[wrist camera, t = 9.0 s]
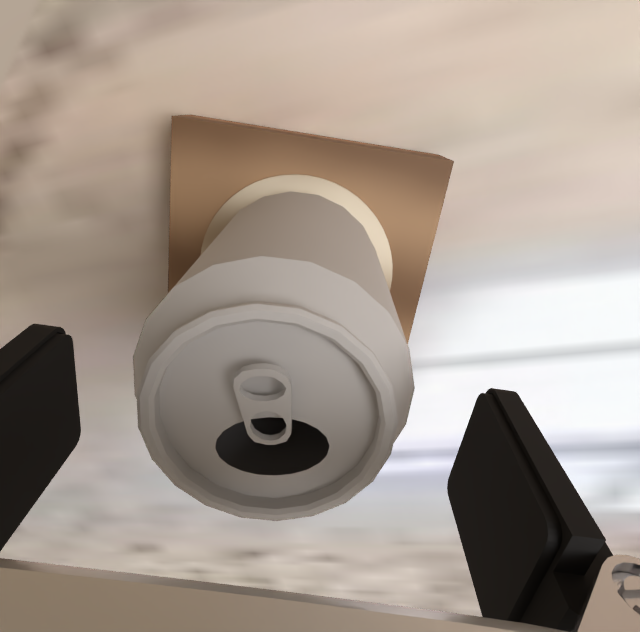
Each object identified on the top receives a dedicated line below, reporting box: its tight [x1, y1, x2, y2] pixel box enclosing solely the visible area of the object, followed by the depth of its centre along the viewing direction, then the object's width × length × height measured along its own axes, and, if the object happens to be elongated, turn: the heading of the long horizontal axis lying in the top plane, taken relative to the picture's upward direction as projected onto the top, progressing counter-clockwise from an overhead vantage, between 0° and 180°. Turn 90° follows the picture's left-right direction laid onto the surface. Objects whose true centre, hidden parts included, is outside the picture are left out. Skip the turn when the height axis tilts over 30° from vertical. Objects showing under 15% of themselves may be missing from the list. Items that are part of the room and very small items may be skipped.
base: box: [168, 115, 454, 344], centre depth 24 cm, size 12×12×3 cm
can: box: [133, 191, 414, 521], centre depth 17 cm, size 8×8×12 cm
